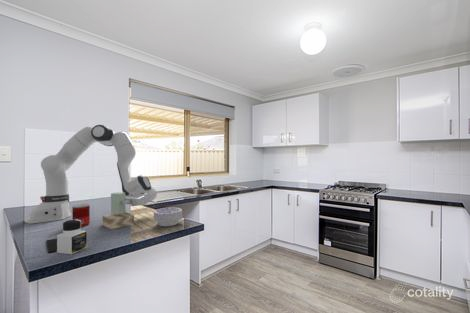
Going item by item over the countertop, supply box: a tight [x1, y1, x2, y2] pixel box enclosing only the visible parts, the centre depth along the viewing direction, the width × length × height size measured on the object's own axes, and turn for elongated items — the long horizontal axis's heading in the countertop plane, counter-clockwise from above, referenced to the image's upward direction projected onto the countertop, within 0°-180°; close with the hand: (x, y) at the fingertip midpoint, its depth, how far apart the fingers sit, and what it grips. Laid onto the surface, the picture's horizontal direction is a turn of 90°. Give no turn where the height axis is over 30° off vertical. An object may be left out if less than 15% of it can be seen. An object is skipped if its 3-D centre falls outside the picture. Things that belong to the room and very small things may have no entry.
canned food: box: [71, 203, 91, 228], centre depth 131 cm, size 8×8×11 cm
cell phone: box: [46, 237, 57, 254], centre depth 102 cm, size 9×18×1 cm, turn 40°
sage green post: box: [110, 191, 126, 215], centre depth 131 cm, size 5×5×11 cm
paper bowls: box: [153, 206, 183, 227], centre depth 132 cm, size 15×15×8 cm
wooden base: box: [102, 211, 135, 230], centre depth 131 cm, size 12×12×5 cm
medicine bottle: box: [56, 219, 88, 255], centre depth 95 cm, size 7×7×12 cm
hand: (116, 202), depth 130 cm, fingers closed on sage green post, 5 cm apart
